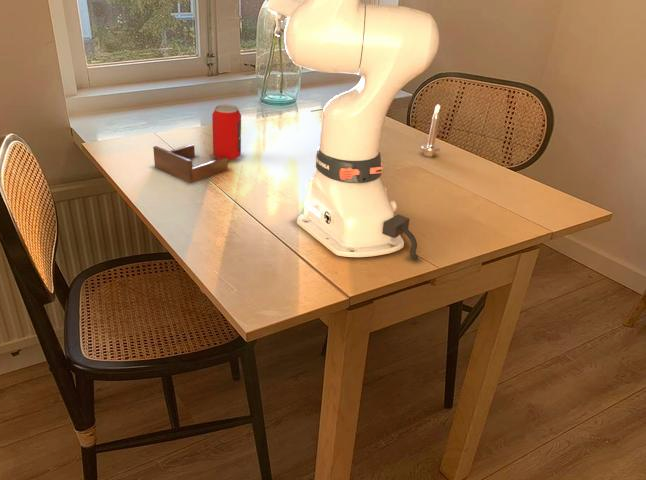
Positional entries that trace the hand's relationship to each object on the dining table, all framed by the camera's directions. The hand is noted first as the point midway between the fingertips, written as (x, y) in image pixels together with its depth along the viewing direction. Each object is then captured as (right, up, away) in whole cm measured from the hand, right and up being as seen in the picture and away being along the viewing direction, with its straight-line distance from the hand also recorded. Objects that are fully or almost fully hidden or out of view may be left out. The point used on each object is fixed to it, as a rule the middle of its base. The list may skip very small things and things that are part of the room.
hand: (292, 41), depth 143 cm
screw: (+35, -27, +7) cm, 45 cm away
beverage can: (-16, -29, -1) cm, 33 cm away
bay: (-23, -33, -8) cm, 41 cm away
